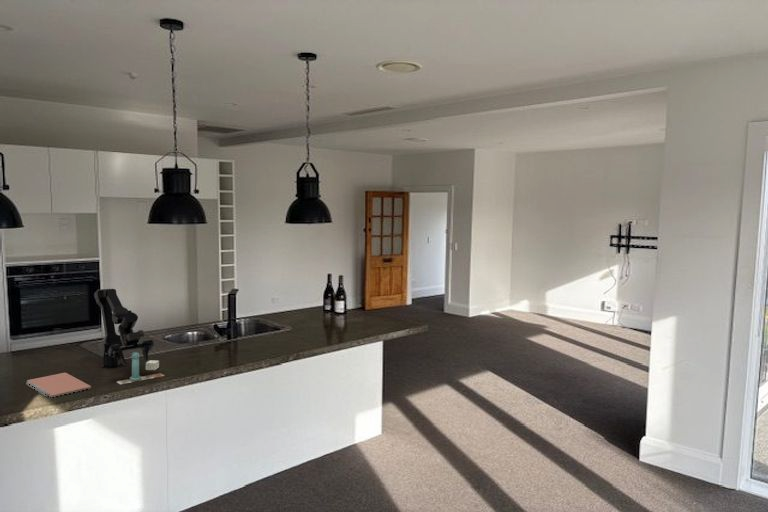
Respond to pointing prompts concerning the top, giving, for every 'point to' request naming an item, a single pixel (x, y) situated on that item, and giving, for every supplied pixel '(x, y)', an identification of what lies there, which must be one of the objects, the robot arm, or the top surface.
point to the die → (152, 365)
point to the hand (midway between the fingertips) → (136, 363)
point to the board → (141, 378)
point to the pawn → (135, 367)
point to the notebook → (57, 385)
